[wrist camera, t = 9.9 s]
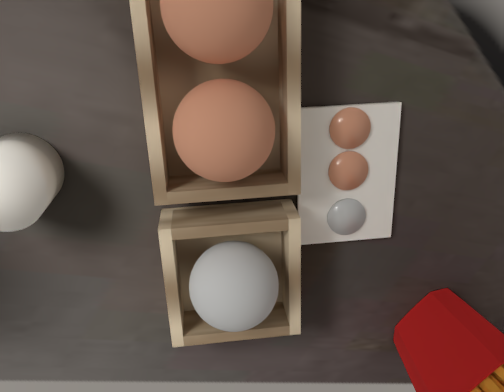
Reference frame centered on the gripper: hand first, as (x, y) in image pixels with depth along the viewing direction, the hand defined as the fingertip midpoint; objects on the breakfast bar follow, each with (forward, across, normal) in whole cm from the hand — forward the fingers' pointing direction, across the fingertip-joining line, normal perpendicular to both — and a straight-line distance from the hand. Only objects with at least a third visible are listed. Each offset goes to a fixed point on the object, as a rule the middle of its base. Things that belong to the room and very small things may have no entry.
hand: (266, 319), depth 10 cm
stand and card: (+22, -2, -5) cm, 22 cm away
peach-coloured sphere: (+21, 0, +6) cm, 22 cm away
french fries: (+22, +16, -18) cm, 33 cm away
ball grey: (+21, 0, -11) cm, 24 cm away
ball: (+21, 0, 0) cm, 21 cm away
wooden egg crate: (+22, 0, +3) cm, 22 cm away
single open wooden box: (+22, 0, -11) cm, 24 cm away
